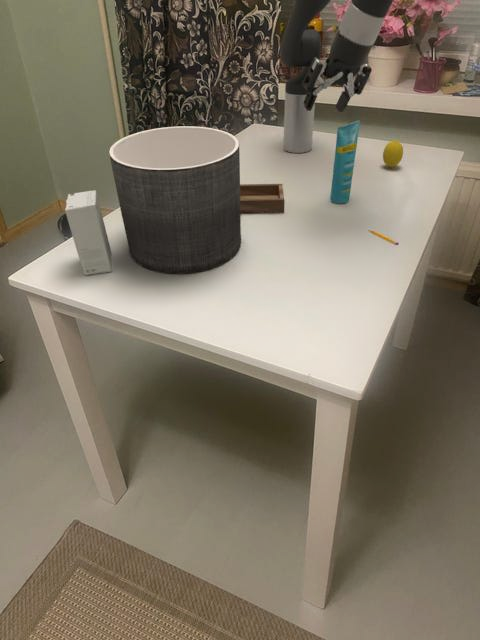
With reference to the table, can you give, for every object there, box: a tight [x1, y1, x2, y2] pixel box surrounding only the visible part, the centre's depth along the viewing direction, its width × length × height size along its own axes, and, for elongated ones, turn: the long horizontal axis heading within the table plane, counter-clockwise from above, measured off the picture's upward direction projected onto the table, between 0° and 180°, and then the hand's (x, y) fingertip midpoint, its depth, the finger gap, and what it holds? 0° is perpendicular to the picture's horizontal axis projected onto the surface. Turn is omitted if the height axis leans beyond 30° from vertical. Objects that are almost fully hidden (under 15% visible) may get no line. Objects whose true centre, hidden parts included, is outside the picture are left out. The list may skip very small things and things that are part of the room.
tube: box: [329, 119, 361, 205], centre depth 116 cm, size 7×5×19 cm, turn 134°
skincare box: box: [64, 189, 113, 276], centre depth 96 cm, size 8×6×15 cm
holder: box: [240, 183, 285, 215], centre depth 120 cm, size 10×12×4 cm
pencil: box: [368, 229, 399, 246], centre depth 107 cm, size 1×8×1 cm, turn 36°
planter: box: [108, 125, 242, 275], centre depth 99 cm, size 25×25×22 cm
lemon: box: [382, 139, 404, 169], centre depth 137 cm, size 6×6×8 cm
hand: (323, 109), depth 104 cm, fingers open, 8 cm apart
